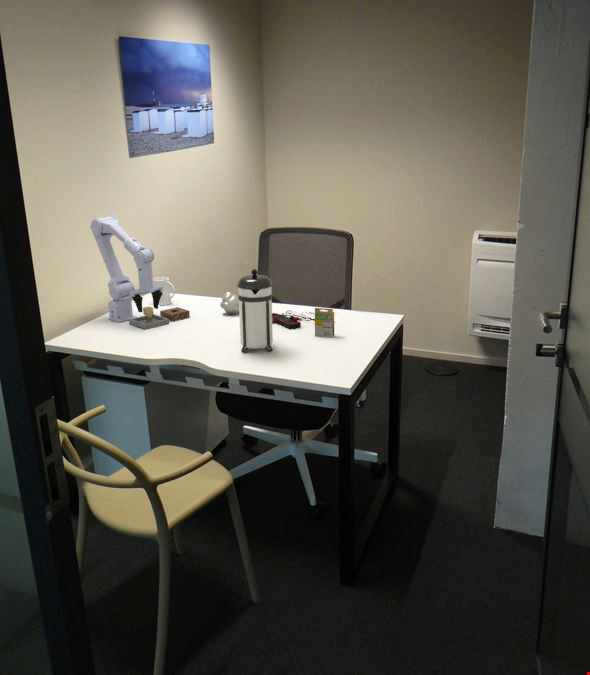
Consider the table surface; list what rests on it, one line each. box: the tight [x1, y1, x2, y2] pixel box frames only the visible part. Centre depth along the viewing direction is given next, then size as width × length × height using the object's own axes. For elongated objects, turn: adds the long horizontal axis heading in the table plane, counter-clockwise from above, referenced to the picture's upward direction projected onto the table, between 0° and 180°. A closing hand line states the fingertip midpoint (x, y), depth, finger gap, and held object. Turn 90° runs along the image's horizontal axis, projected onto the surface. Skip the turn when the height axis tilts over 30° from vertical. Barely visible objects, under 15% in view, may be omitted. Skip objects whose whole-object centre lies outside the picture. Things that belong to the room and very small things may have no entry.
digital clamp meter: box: [272, 310, 315, 330], centre depth 287 cm, size 23×4×25 cm
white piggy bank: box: [219, 291, 239, 315], centre depth 297 cm, size 9×10×10 cm
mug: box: [153, 276, 176, 306], centre depth 314 cm, size 12×8×12 cm
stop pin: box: [142, 306, 155, 323], centre depth 284 cm, size 3×3×6 cm
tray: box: [128, 313, 170, 330], centre depth 285 cm, size 12×12×2 cm
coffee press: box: [236, 268, 274, 354], centre depth 249 cm, size 17×16×30 cm
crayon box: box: [314, 307, 335, 338], centre depth 264 cm, size 7×3×12 cm, turn 74°
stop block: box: [159, 306, 191, 322], centre depth 293 cm, size 9×9×3 cm
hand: (148, 310), depth 283 cm, fingers open, 7 cm apart
